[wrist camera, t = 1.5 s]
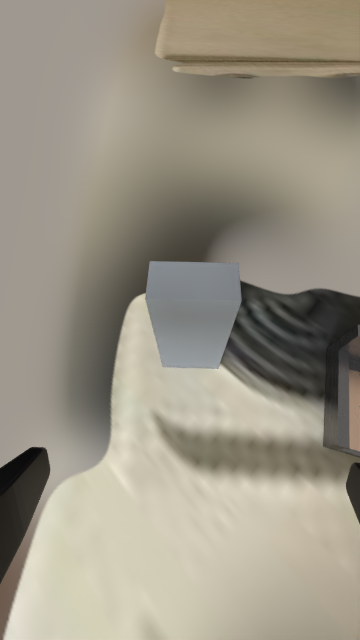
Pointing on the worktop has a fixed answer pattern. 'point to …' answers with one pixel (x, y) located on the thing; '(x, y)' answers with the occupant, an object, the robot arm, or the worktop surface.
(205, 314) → the grey rectangular block
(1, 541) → the robot arm
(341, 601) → the worktop surface
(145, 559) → the worktop surface
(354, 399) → the compartment tray
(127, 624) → the worktop surface
